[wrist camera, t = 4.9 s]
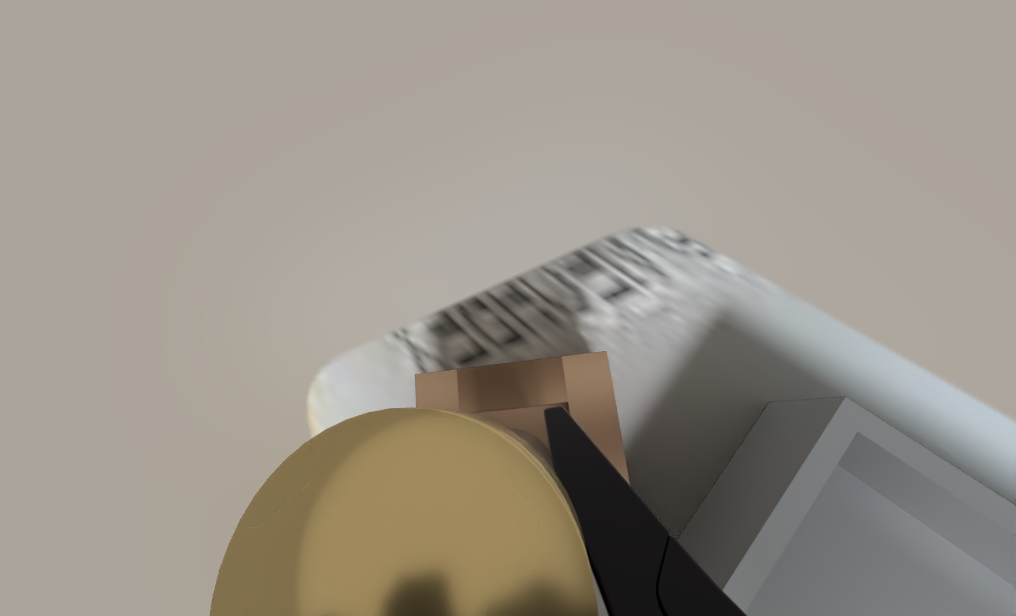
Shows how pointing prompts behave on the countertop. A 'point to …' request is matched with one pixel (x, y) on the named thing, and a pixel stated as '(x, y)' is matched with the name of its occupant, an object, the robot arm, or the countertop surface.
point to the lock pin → (410, 526)
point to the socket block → (534, 396)
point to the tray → (851, 522)
